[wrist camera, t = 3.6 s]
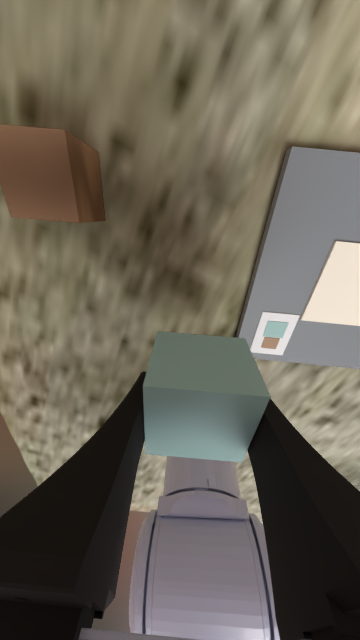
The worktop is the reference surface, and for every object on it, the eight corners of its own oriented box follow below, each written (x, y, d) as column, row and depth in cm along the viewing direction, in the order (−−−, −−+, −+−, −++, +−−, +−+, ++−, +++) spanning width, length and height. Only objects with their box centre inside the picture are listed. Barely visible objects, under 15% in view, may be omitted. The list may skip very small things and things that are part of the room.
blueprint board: (386, 366, 20) (395, 373, 19) (231, 351, 20) (233, 357, 19) (541, 174, 12) (568, 171, 11) (286, 150, 12) (293, 145, 11)
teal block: (228, 397, 13) (241, 462, 10) (156, 391, 13) (145, 453, 10) (245, 338, 11) (270, 396, 7) (157, 331, 11) (142, 385, 8)
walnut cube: (105, 220, 15) (79, 222, 11) (53, 216, 15) (10, 216, 11) (98, 152, 13) (64, 129, 9) (38, 147, 13) (-19, 122, 9)
